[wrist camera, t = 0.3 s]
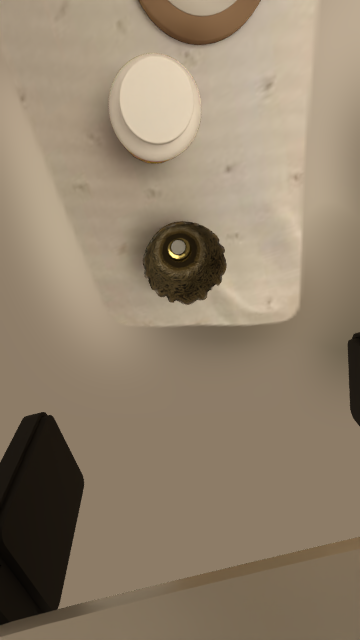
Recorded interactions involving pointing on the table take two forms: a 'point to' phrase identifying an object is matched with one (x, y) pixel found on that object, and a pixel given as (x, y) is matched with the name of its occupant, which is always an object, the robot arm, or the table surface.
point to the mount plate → (199, 18)
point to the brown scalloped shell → (184, 262)
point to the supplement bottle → (154, 107)
